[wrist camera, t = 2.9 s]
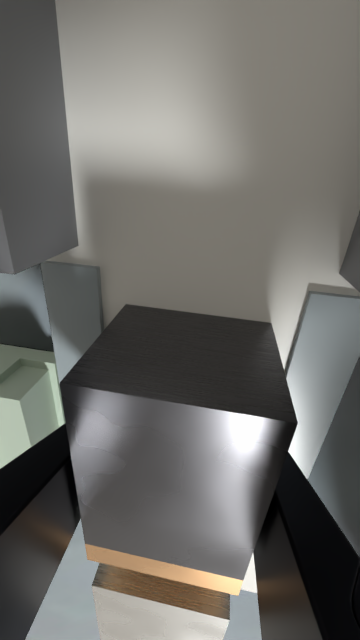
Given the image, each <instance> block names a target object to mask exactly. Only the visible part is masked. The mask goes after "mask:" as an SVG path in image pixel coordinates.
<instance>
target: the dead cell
mask: <svg viewBox="0 0 360 640" xmlns="http://www.w3.org/2000/svg"><path fill="white" fill-rule="evenodd" d="M92 590H93V596H94V602H95V608H96V615H97V621H98V627H99V633H100V639H101V640H223V638H224V635H225V632H226V629H227V626H228V623H229V620H230V594H229V593H224V592H220V591H216V590H212V589H208V588H204V587H200V586H195V585H191V584H187V583H183V582H179V581H175V580H170V579H166V578H162V577H158V576H154V575H150V574H145V573H141V572H137V571H133V570H129V569H125V568H120V567H116V566H112V565H108V564H104V563H99V566H98V569H97V572H96V575H95V578H94V581H93V584H92Z"/></svg>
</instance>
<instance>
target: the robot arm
mask: <svg viewBox="0 0 360 640" xmlns="http://www.w3.org/2000/svg"><path fill="white" fill-rule="evenodd" d="M80 518H81V515H80V509H79V503H78V497H77V491H76V484H75V478H74V472H73V466H72V460H71V453H70V447H69V441H68V435H67V429H66V423H65V424H63V425H62V426H60V427H59V428H58V429H56V430H55V431H53V432H52V433H50V434H49V435H48V436H46V437H45V438H43V439H42V440H40V441H39V442H38V443H36V444H35V445H33V446H32V447H30V448H29V449H28V450H26V451H25V452H23V453H22V454H21V455H19V456H18V457H16V458H15V459H13V460H12V461H11V462H9V463H8V464H6V465H5V466H3V467H2V468H1V469H0V640H25V638H26V636H27V634H28V632H29V630H30V627H31V625H32V623H33V621H34V619H35V617H36V614H37V612H38V610H39V608H40V606H41V603H42V601H43V599H44V597H45V595H46V593H47V590H48V588H49V586H50V584H51V582H52V580H53V577H54V575H55V573H56V571H57V569H58V566H59V564H60V562H61V560H62V558H63V556H64V553H65V551H66V549H67V547H68V545H69V542H70V540H71V538H72V536H73V534H74V532H75V529H76V527H77V525H78V523H79V521H80ZM253 554H254V564H255V574H256V584H257V594H258V604H259V614H260V624H261V634H262V640H360V557H359V556H358V554H357V553H356V551H355V550H354V548H353V547H352V545H351V544H350V542H349V541H348V539H347V538H346V537H345V535H344V534H343V532H342V531H341V529H340V528H339V526H338V525H337V523H336V522H335V520H334V519H333V517H332V516H331V514H330V513H329V511H328V510H327V508H326V507H325V505H324V504H323V502H322V501H321V499H320V498H319V496H318V495H317V493H316V492H315V490H314V489H313V487H312V486H311V484H310V483H309V481H308V480H307V478H306V477H305V475H304V474H303V472H302V471H301V469H300V468H299V467H298V465H297V464H296V462H295V461H294V459H293V458H292V456H291V455H290V453H289V452H288V454H287V456H286V459H285V462H284V465H283V468H282V471H281V474H280V477H279V479H278V482H277V485H276V488H275V491H274V494H273V497H272V500H271V502H270V505H269V508H268V511H267V514H266V517H265V520H264V523H263V525H262V528H261V531H260V534H259V537H258V540H257V543H256V546H255V548H254V551H253Z"/></svg>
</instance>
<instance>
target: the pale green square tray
mask: <svg viewBox="0 0 360 640" xmlns="http://www.w3.org/2000/svg"><path fill="white" fill-rule="evenodd" d="M65 423H66V422H65V416H64V410H63V404H62V398H61V391H60V385H59V378H58V372H57V366H56V359H55V353H54V352H49V351H42V350H36V349H29V348H23V347H16V346H10V345H3V344H0V469H1V468H2V467H3V466H5V465H6V464H8V463H9V462H11V461H12V460H13V459H15V458H16V457H18V456H19V455H21V454H22V453H23V452H25V451H26V450H28V449H29V448H30V447H32V446H33V445H35V444H36V443H38V442H39V441H40V440H42V439H43V438H45V437H46V436H48V435H49V434H50V433H52V432H53V431H55V430H56V429H58V428H59V427H60V426H62V425H63V424H65ZM80 519H81V518H80Z"/></svg>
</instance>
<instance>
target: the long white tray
mask: <svg viewBox="0 0 360 640" xmlns="http://www.w3.org/2000/svg"><path fill="white" fill-rule="evenodd" d="M39 263H40V266H41V272H42V279H43V285H44V291H45V297H46V304H47V310H48V316H49V322H50V328H51V335H52V341H53V347H54V353H55V359H56V366H57V372H58V378H59V383H60V382H61V381H62V379H63V378H64V377H65V376H66V375H67V373H68V372H69V371H70V370H71V369H72V368H73V366H74V365H75V364H76V363H77V362H78V360H79V359H80V358H81V357H82V356H83V354H84V353H85V352H86V351H87V350H88V348H89V347H90V346H91V345H92V344H93V343H94V341H95V340H96V339H97V338H98V337H99V335H100V334H101V333H102V332H103V331H104V329H105V328H106V327H107V326H108V325H109V323H110V322H111V321H112V320H113V319H114V318H115V316H116V315H117V314H118V313H119V312H120V310H121V309H122V308H123V307H124V306H125V304H129V305H137V306H145V307H153V308H160V309H168V310H176V311H184V312H191V313H199V314H207V315H214V316H222V317H230V318H238V319H245V320H253V321H261V322H269V323H272V327H273V330H274V334H275V338H276V342H277V346H278V349H279V353H280V357H281V361H282V365H283V368H284V372H285V376H286V380H287V383H288V387H289V391H290V395H291V399H292V402H293V406H294V410H295V414H296V418H297V421H298V425H297V428H296V431H295V433H294V436H293V439H292V442H291V445H290V448H289V451H288V452H289V453H290V455H291V456H292V458H293V459H294V461H295V462H296V464H297V465H298V467H299V468H300V469H301V471H302V472H303V474H304V475H305V477H306V478H307V480H308V477H309V475H310V473H311V470H312V468H313V466H314V463H315V461H316V458H317V456H318V454H319V451H320V449H321V447H322V444H323V442H324V439H325V437H326V435H327V432H328V430H329V427H330V425H331V423H332V420H333V418H334V416H335V413H336V411H337V408H338V406H339V404H340V401H341V399H342V397H343V394H344V392H345V389H346V387H347V385H348V382H349V380H350V378H351V375H352V373H353V370H354V368H355V366H356V363H357V361H358V359H359V356H360V0H0V273H6V274H14V275H15V274H17V273H19V272H21V271H23V270H26V269H28V268H30V267H32V266H35V265H37V264H39ZM241 589H242V590H246V591H250V592H254V593H257V584H256V574H255V564H254V554H252V557H251V560H250V563H249V566H248V569H247V571H246V574H245V577H244V580H243V583H242V586H241Z"/></svg>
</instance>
